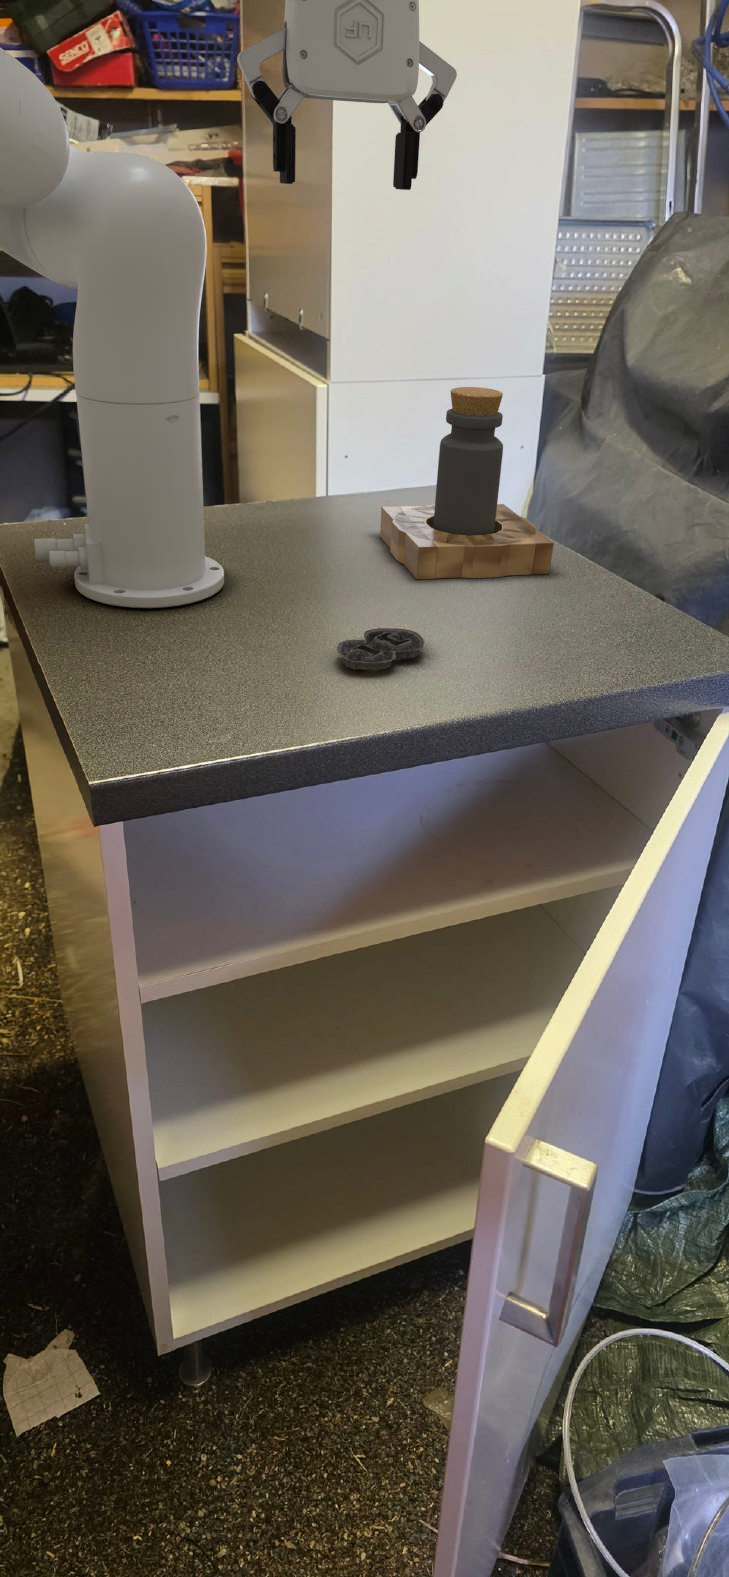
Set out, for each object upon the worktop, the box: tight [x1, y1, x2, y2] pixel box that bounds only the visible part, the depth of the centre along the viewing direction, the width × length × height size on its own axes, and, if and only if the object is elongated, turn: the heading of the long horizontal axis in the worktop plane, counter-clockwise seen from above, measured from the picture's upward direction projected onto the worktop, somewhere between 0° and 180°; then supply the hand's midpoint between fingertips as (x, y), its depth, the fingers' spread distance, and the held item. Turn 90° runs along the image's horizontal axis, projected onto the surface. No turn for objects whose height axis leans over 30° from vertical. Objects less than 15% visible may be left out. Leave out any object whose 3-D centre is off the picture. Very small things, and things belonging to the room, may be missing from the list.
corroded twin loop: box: [336, 627, 425, 671], centre depth 77 cm, size 5×8×1 cm, turn 141°
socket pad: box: [379, 503, 555, 580], centre depth 99 cm, size 14×14×3 cm
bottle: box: [433, 386, 504, 536], centre depth 96 cm, size 6×6×15 cm
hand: (345, 186), depth 84 cm, fingers open, 9 cm apart
